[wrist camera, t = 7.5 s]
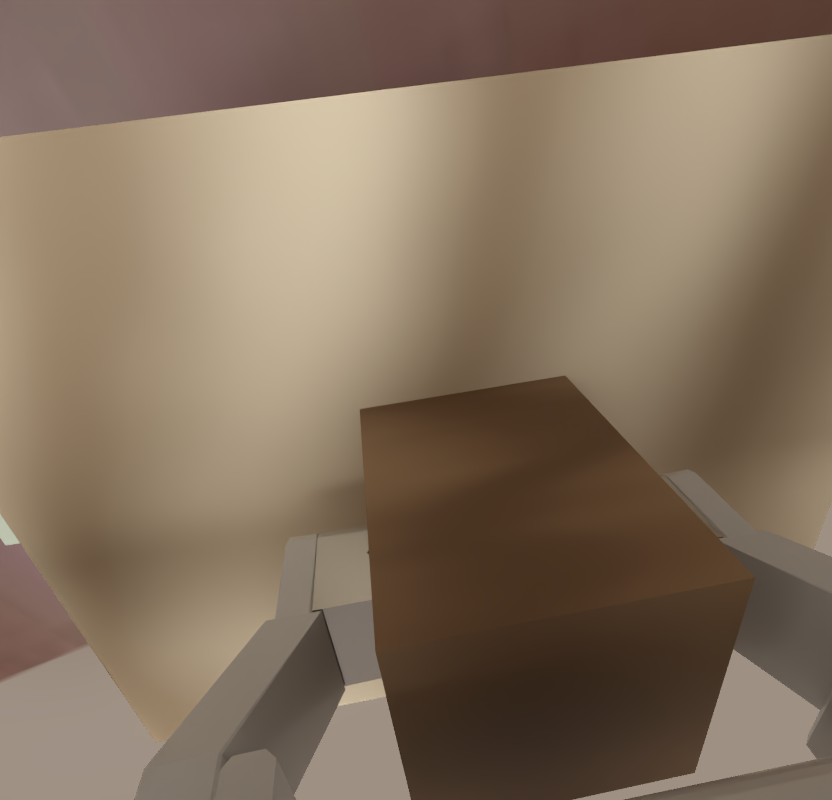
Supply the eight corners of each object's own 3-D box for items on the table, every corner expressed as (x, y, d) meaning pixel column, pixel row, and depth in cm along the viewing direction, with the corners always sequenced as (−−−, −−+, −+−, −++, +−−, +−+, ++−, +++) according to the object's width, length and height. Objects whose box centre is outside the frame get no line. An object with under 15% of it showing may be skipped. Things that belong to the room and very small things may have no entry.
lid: (947, 24, 8) (1943, -164, 3) (763, 587, 15) (986, 826, 10) (-167, 163, 7) (-1464, 225, 2) (167, 705, 14) (62, 1044, 9)
